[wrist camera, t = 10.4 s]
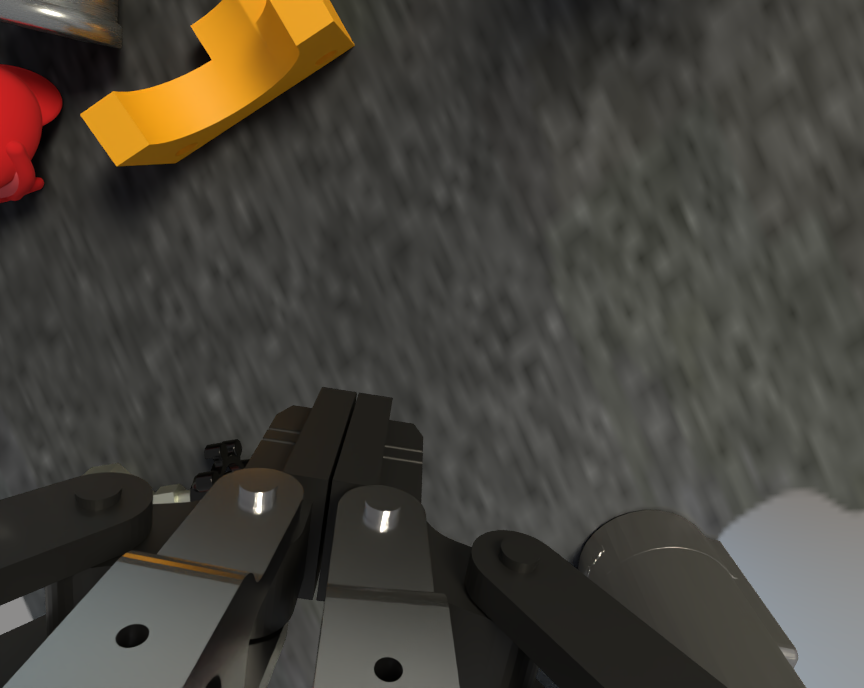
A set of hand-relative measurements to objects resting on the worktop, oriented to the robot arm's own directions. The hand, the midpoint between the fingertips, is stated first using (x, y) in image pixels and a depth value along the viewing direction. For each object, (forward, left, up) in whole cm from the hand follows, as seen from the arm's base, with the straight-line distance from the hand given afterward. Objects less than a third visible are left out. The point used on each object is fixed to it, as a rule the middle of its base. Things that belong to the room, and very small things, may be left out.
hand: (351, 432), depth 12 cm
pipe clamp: (+11, -8, -24) cm, 27 cm away
